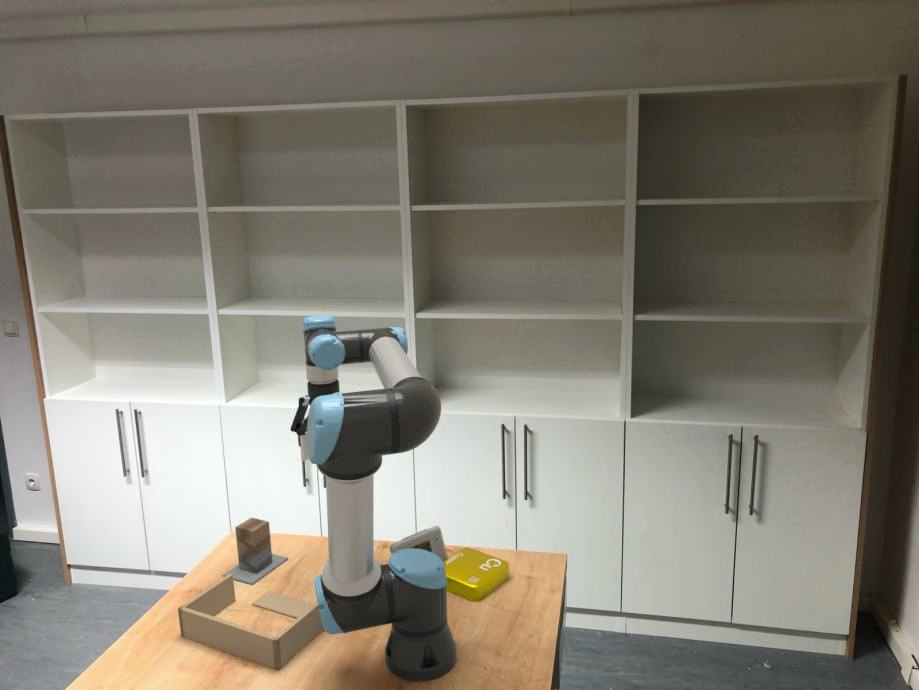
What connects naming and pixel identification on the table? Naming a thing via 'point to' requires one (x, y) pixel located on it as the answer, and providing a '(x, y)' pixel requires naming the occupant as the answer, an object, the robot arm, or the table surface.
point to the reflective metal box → (253, 545)
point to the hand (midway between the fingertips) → (328, 463)
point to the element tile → (474, 574)
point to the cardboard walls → (244, 640)
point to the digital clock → (423, 542)
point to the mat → (252, 577)
